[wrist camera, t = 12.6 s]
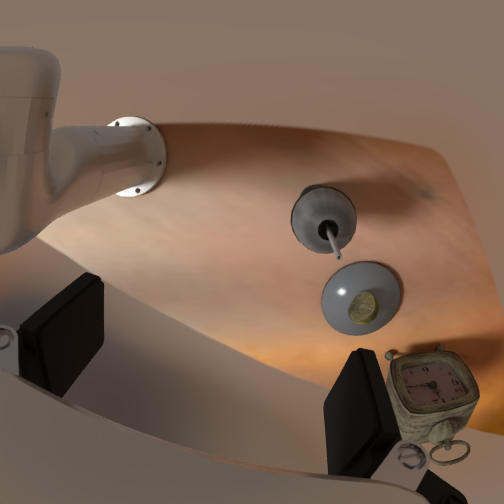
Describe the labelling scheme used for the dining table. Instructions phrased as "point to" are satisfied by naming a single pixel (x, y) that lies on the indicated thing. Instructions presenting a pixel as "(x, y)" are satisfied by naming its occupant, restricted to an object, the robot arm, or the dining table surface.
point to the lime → (363, 308)
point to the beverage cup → (323, 219)
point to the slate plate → (349, 285)
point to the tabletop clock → (432, 398)
